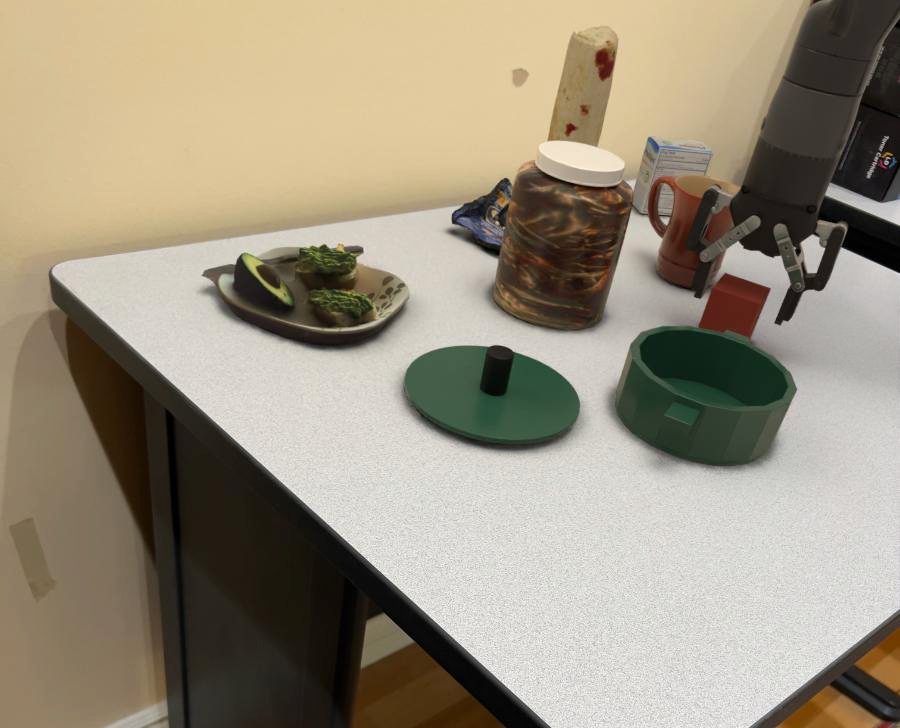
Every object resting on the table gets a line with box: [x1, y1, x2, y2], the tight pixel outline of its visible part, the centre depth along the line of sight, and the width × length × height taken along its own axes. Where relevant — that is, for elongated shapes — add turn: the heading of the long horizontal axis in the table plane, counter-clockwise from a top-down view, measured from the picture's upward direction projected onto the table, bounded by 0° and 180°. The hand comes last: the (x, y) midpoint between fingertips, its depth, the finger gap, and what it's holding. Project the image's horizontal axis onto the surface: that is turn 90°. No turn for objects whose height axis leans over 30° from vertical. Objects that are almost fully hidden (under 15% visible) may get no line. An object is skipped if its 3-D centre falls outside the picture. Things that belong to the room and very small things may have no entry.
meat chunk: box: [697, 272, 772, 342], centre depth 92 cm, size 5×5×6 cm
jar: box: [492, 141, 634, 330], centre depth 90 cm, size 12×12×15 cm
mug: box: [647, 174, 741, 289], centre depth 103 cm, size 12×9×10 cm
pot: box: [614, 325, 798, 467], centre depth 79 cm, size 15×20×6 cm
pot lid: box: [403, 344, 581, 445], centre depth 77 cm, size 16×16×5 cm
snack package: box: [451, 177, 514, 252], centre depth 105 cm, size 12×6×12 cm
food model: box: [546, 25, 619, 147], centre depth 113 cm, size 10×7×20 cm
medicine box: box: [632, 135, 714, 216], centre depth 119 cm, size 8×4×9 cm, turn 102°
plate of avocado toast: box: [200, 243, 411, 347], centre depth 87 cm, size 19×18×5 cm
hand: (738, 308), depth 91 cm, fingers open, 8 cm apart
